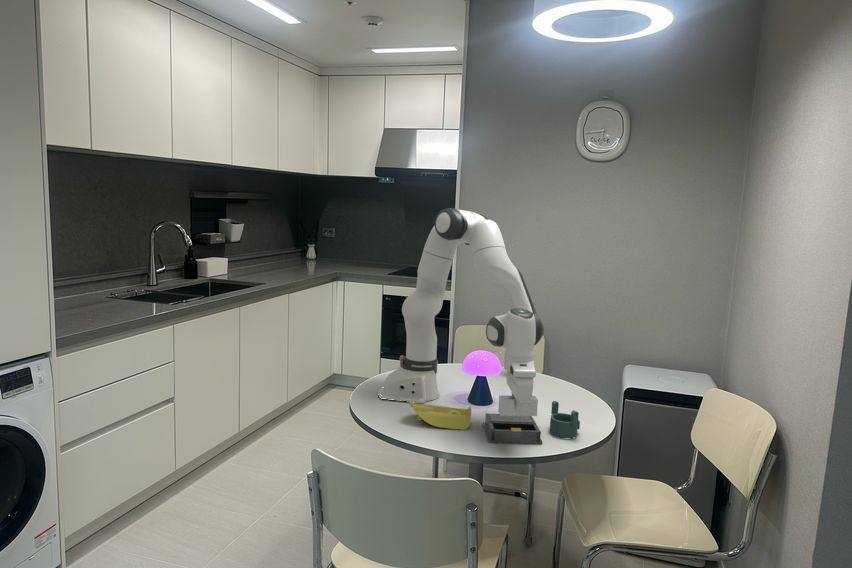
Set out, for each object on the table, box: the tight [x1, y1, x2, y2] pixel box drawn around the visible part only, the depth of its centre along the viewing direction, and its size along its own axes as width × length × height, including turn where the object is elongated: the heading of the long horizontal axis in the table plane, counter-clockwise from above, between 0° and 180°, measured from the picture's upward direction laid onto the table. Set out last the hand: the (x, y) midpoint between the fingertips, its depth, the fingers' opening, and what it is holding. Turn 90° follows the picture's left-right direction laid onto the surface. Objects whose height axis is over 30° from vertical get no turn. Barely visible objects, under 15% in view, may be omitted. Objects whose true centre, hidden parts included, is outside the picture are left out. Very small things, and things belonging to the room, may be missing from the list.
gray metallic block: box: [497, 394, 539, 417], centre depth 167 cm, size 11×4×5 cm, turn 92°
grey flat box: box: [482, 412, 543, 445], centre depth 171 cm, size 16×14×4 cm
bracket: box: [549, 400, 581, 439], centre depth 173 cm, size 9×9×9 cm
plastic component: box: [408, 400, 472, 431], centre depth 179 cm, size 20×7×10 cm
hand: (517, 408), depth 167 cm, fingers closed on gray metallic block, 4 cm apart
